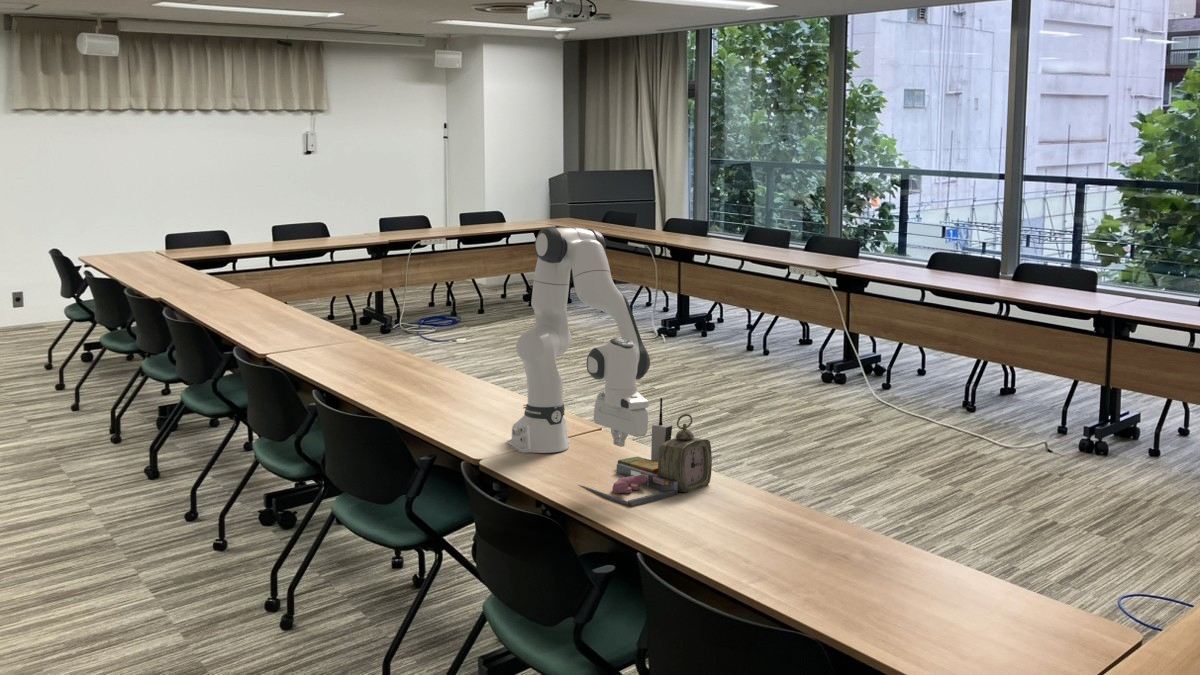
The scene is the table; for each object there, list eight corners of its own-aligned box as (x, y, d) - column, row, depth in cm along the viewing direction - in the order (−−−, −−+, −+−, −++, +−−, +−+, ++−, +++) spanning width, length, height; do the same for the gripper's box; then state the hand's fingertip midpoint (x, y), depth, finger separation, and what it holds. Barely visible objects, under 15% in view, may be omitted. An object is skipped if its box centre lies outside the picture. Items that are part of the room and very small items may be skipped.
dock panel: (574, 486, 292) (574, 473, 292) (620, 476, 303) (620, 463, 302) (630, 506, 273) (630, 492, 273) (677, 495, 284) (677, 481, 283)
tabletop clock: (681, 508, 285) (680, 420, 282) (655, 502, 291) (655, 416, 288) (711, 497, 295) (711, 411, 292) (686, 491, 301) (686, 408, 298)
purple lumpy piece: (649, 489, 289) (630, 484, 294) (649, 474, 288) (630, 469, 293) (626, 499, 282) (607, 493, 287) (626, 484, 281) (607, 478, 286)
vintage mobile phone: (664, 481, 308) (666, 400, 304) (650, 479, 310) (652, 398, 307) (671, 479, 311) (673, 398, 307) (657, 476, 314) (659, 396, 310)
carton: (652, 483, 293) (652, 468, 292) (616, 473, 305) (616, 459, 305) (673, 479, 298) (673, 465, 298) (637, 469, 310) (638, 455, 310)
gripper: (589, 391, 291) (587, 439, 293) (634, 405, 275) (633, 455, 277) (606, 389, 295) (605, 436, 297) (652, 402, 279) (650, 452, 281)
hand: (618, 445), depth 287 cm, fingers closed
